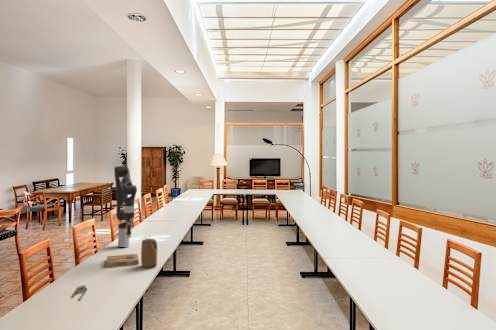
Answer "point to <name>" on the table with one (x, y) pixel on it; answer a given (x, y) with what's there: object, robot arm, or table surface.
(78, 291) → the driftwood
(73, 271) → the table surface
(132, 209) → the robot arm
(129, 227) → the peg
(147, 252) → the block
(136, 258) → the board
